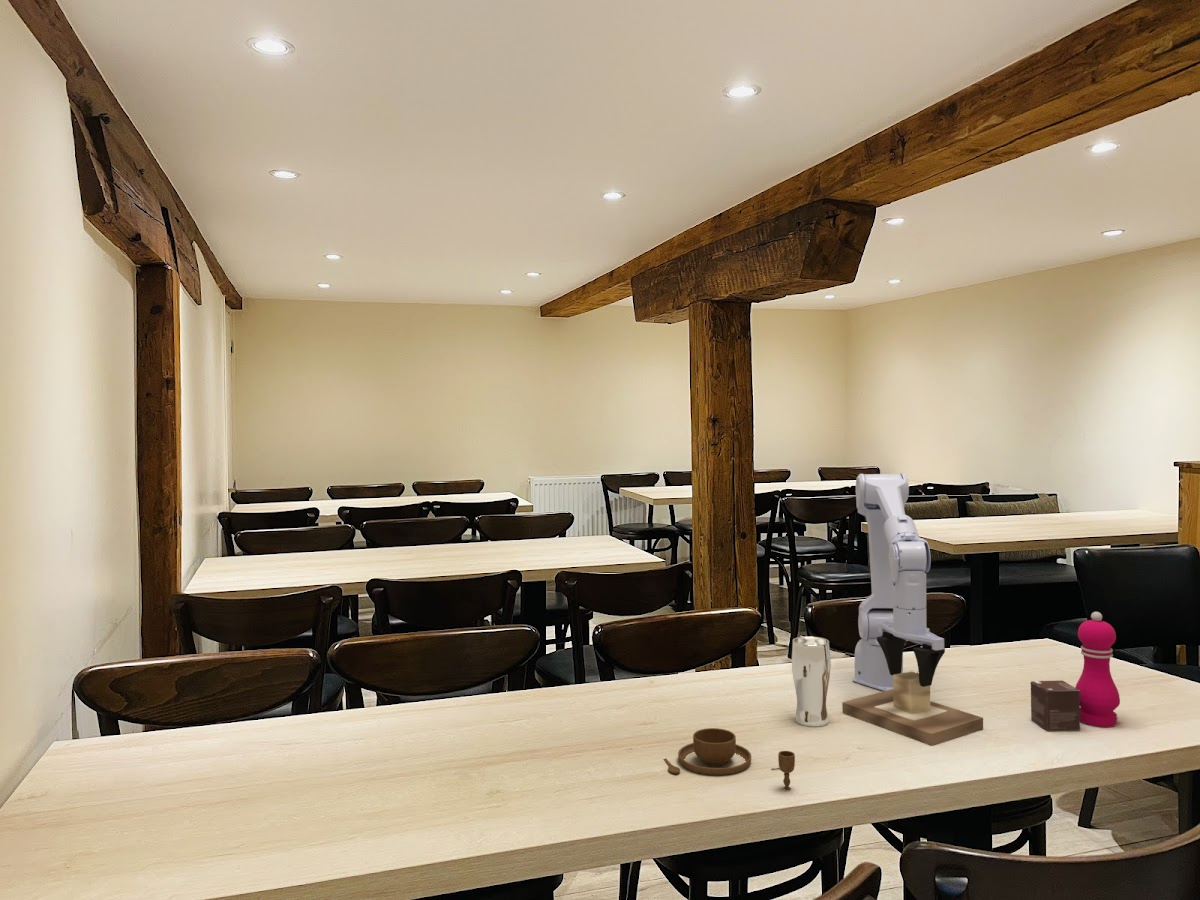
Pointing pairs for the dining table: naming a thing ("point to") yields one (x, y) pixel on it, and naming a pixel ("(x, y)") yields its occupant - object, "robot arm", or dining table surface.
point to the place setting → (724, 754)
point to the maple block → (910, 693)
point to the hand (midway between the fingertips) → (910, 679)
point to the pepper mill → (1097, 673)
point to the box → (1055, 705)
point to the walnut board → (913, 718)
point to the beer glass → (811, 679)
